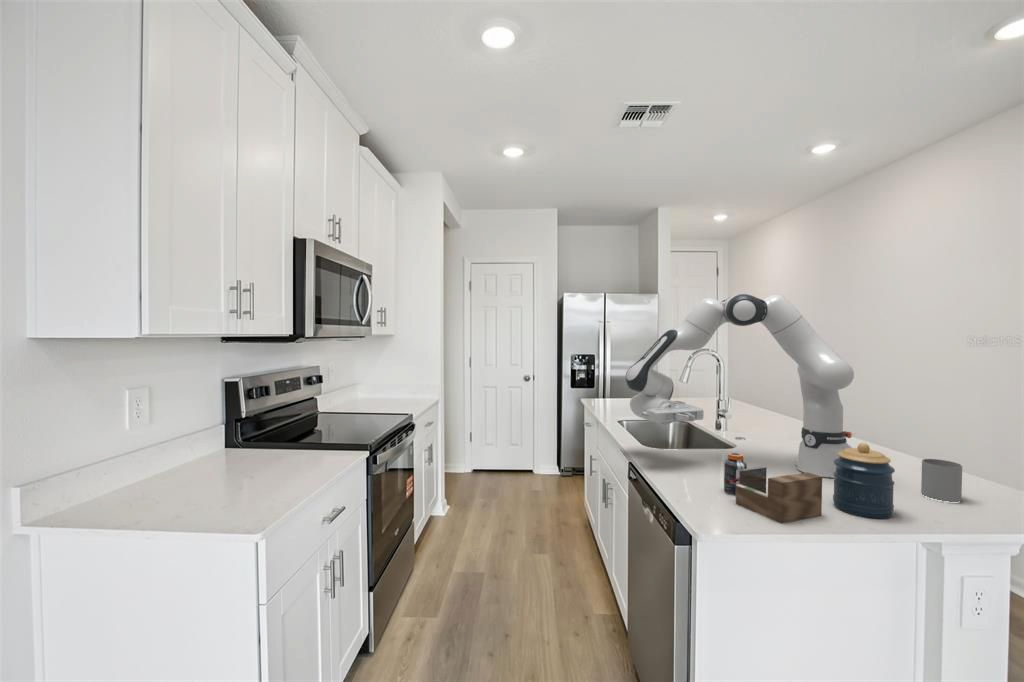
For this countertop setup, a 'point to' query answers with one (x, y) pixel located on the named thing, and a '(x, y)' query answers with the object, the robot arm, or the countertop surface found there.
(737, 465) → the pill bottle
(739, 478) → the brushed metal plate
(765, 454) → the countertop surface
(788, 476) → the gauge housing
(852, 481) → the canister
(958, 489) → the cup
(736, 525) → the countertop surface
